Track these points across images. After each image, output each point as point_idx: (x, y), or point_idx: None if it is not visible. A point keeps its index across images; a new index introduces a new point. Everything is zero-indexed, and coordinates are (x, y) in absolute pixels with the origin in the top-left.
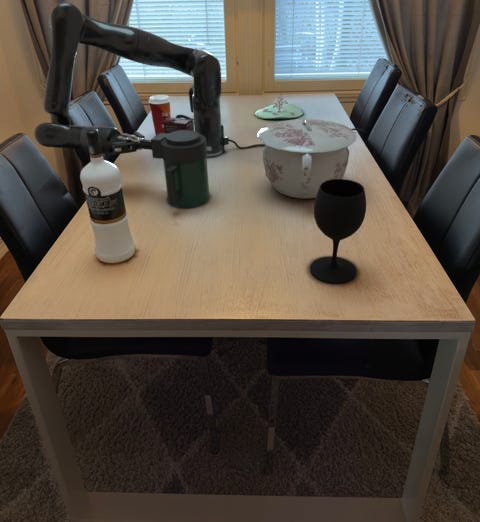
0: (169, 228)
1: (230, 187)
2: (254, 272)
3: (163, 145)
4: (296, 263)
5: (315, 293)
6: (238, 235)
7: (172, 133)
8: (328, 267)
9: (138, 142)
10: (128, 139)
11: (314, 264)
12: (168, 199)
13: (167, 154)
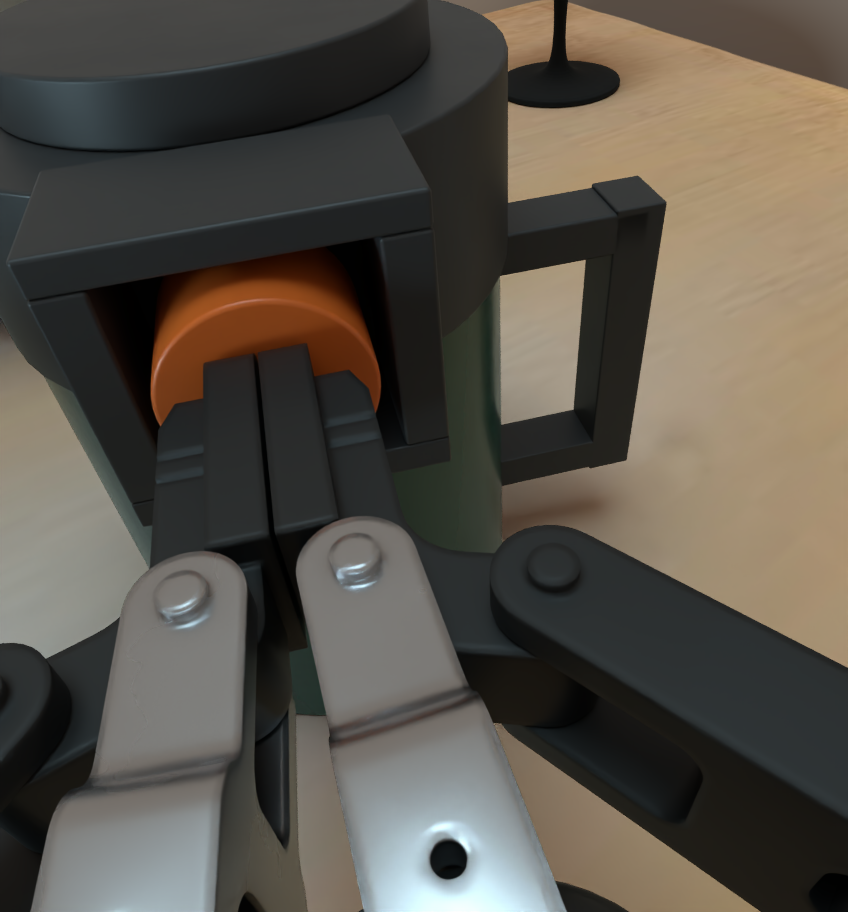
0: (743, 436)
1: (84, 460)
2: (714, 148)
3: (492, 79)
4: (587, 121)
5: (671, 77)
6: None
7: (145, 57)
8: (572, 72)
9: (413, 547)
10: (513, 798)
11: (571, 95)
12: None
13: (507, 159)
